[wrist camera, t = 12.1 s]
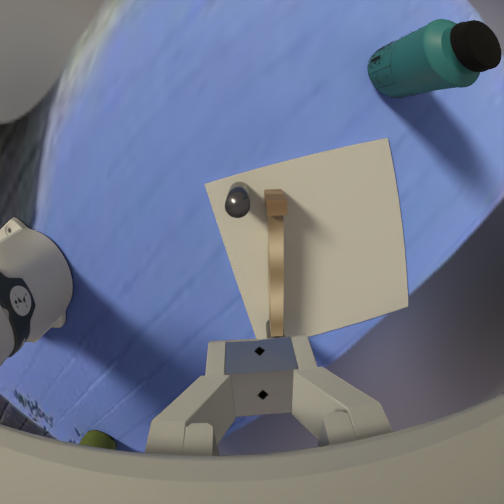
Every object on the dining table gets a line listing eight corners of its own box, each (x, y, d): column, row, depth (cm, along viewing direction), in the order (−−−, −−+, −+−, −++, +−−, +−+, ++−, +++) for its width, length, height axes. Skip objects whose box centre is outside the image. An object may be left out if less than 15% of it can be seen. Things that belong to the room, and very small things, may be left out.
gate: (281, 316, 43) (286, 342, 38) (267, 317, 43) (269, 343, 38) (281, 189, 37) (287, 199, 32) (264, 189, 37) (266, 200, 32)
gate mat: (259, 347, 46) (260, 348, 46) (205, 183, 38) (204, 184, 37) (407, 304, 44) (408, 306, 44) (386, 138, 36) (387, 138, 35)
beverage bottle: (405, 105, 34) (515, 100, 15) (357, 91, 34) (451, 65, 15) (409, 59, 32) (514, 28, 13) (362, 44, 31) (451, -11, 13)
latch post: (232, 203, 38) (228, 220, 31) (226, 184, 38) (221, 197, 30) (252, 197, 38) (253, 214, 31) (246, 178, 37) (245, 190, 30)
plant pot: (113, 425, 54) (98, 467, 43) (133, 456, 58) (123, 495, 48) (68, 419, 54) (50, 456, 44) (90, 450, 58) (77, 485, 48)
